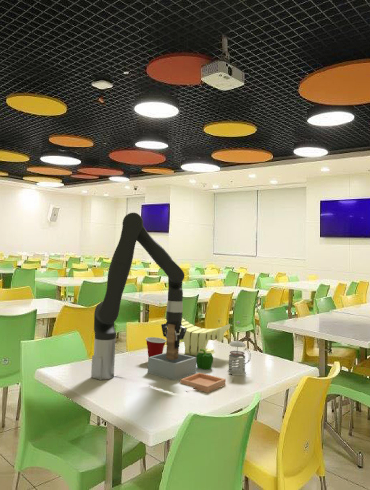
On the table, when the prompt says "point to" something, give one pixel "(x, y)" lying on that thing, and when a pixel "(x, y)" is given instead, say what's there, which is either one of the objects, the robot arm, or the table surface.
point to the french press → (234, 357)
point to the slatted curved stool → (200, 337)
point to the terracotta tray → (203, 382)
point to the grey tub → (172, 366)
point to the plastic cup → (155, 346)
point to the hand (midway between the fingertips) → (172, 347)
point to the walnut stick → (171, 343)
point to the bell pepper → (204, 360)
